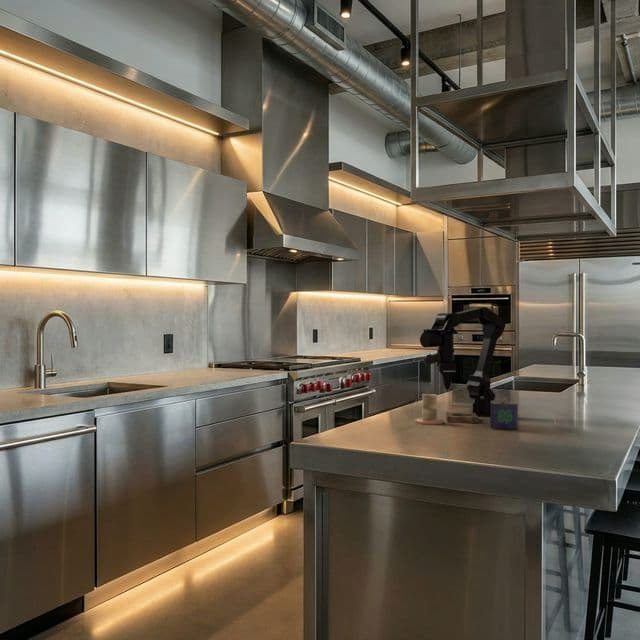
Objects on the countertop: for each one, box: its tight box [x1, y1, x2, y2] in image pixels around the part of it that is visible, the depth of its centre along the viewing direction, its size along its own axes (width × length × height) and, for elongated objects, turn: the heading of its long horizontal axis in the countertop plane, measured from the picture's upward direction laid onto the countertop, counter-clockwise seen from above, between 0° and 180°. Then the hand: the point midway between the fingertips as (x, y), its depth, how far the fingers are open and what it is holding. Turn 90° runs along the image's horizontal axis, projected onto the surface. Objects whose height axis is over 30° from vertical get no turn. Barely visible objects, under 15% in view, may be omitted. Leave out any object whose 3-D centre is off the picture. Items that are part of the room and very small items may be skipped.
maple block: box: [421, 393, 438, 421], centre depth 226 cm, size 5×4×9 cm
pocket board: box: [445, 411, 479, 424], centre depth 231 cm, size 11×11×2 cm
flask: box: [489, 397, 519, 431], centre depth 213 cm, size 9×3×11 cm, turn 88°
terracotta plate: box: [414, 417, 444, 426], centre depth 225 cm, size 10×10×1 cm
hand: (446, 388), depth 234 cm, fingers open, 9 cm apart
